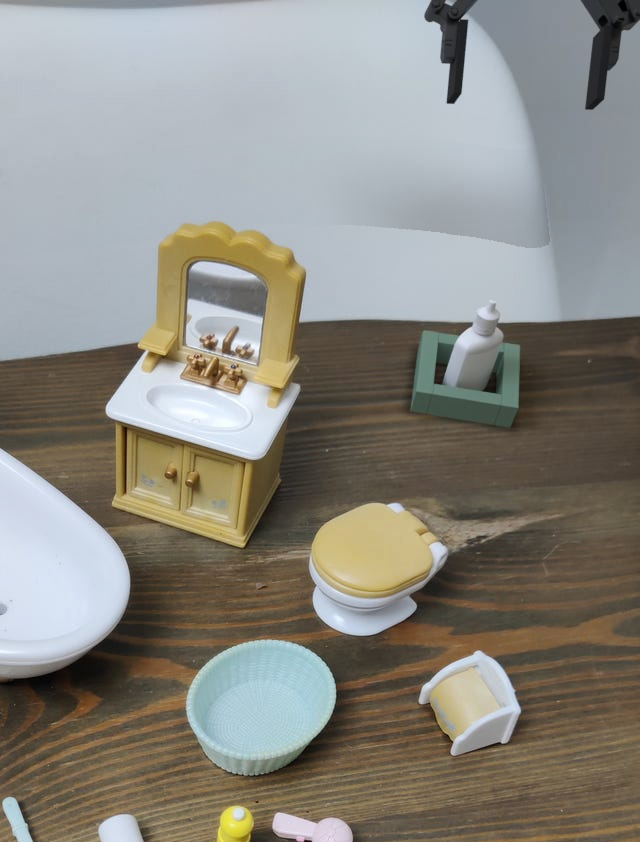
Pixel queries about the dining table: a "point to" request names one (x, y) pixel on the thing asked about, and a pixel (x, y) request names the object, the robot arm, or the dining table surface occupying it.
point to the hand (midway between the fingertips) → (524, 102)
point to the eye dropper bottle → (475, 351)
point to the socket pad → (461, 400)
